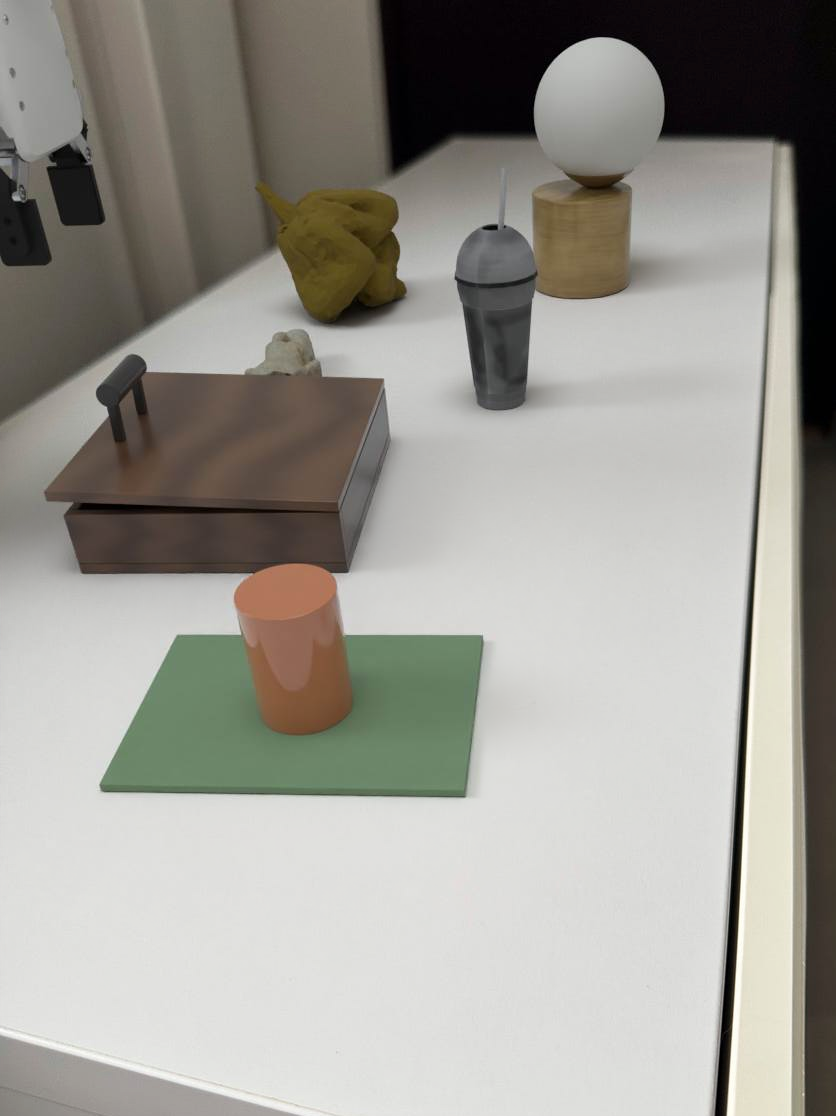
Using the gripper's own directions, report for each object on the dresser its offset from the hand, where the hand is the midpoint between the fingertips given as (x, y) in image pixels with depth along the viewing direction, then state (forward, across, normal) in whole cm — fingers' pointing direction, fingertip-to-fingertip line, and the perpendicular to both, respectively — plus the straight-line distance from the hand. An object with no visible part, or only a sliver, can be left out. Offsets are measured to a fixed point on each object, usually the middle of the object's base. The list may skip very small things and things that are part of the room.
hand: (57, 243), depth 73 cm
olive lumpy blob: (+20, -46, +9) cm, 51 cm away
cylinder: (+20, +26, +20) cm, 38 cm away
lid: (+15, 0, +10) cm, 18 cm away
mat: (+20, +26, +20) cm, 39 cm away
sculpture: (+20, -23, +8) cm, 32 cm away
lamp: (+20, -54, +38) cm, 69 cm away
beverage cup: (+20, -19, +29) cm, 40 cm away
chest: (+20, 0, +10) cm, 23 cm away
